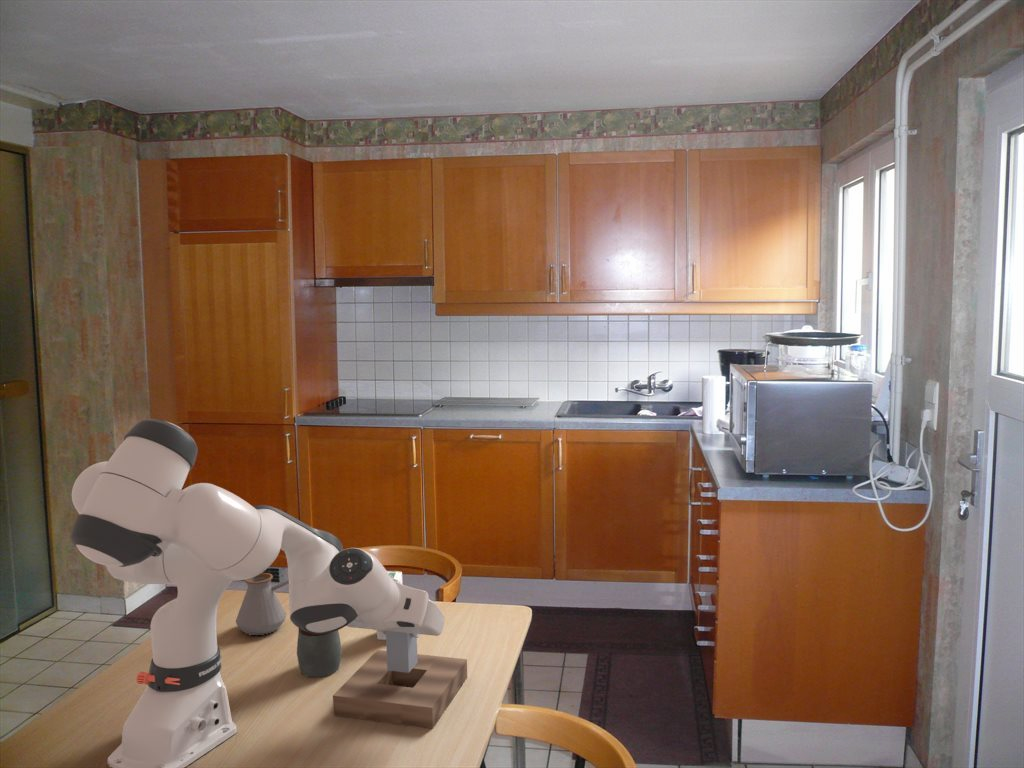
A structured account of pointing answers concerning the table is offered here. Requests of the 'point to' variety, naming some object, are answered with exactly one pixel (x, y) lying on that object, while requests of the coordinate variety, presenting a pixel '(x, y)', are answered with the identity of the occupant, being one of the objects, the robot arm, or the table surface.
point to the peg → (401, 651)
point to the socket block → (401, 690)
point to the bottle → (318, 653)
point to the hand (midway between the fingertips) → (402, 632)
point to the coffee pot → (261, 606)
